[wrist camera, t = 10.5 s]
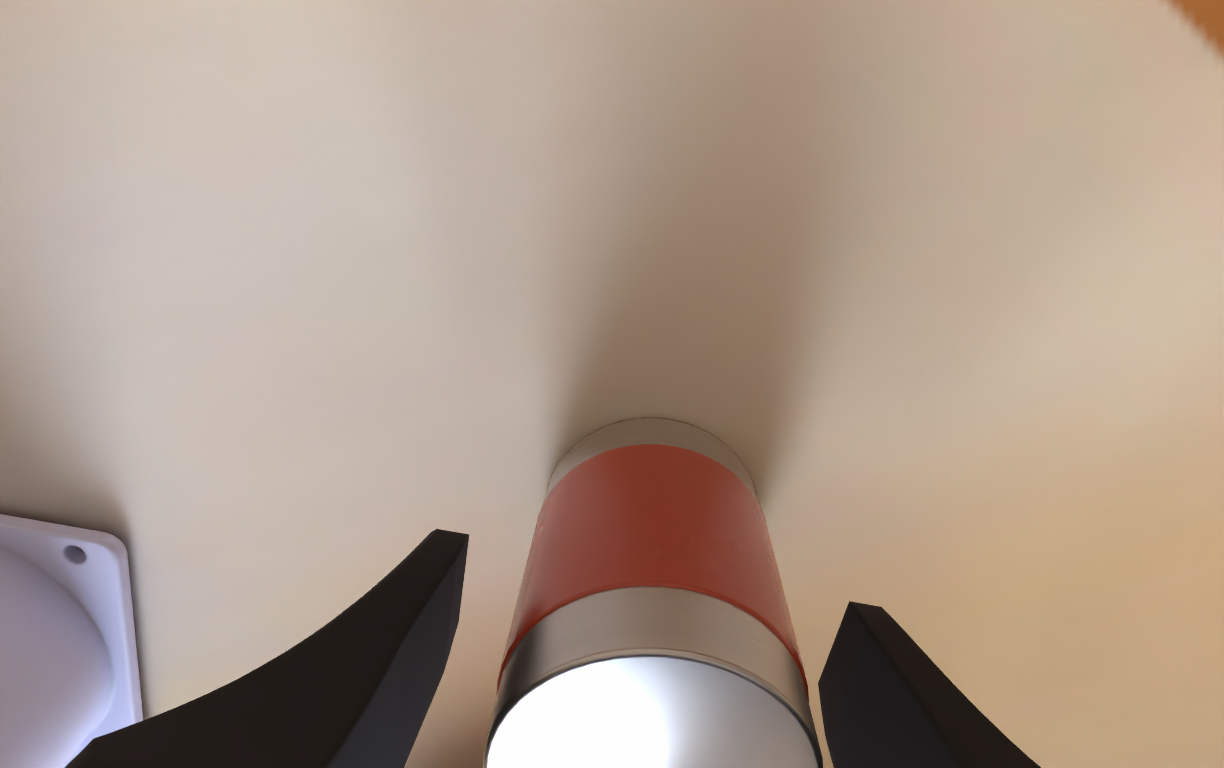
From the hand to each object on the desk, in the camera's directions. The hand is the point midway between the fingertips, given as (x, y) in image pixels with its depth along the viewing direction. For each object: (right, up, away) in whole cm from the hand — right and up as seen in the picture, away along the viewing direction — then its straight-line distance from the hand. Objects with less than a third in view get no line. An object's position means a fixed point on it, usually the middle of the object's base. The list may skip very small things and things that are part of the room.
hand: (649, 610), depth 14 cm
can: (0, +1, +3) cm, 3 cm away
